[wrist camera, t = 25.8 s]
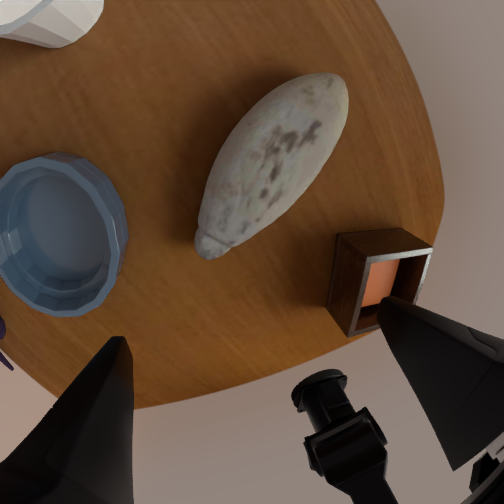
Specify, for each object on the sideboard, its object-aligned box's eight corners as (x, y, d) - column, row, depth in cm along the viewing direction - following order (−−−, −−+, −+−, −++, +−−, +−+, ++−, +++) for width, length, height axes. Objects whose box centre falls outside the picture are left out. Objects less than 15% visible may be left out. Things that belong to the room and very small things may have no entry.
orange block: (376, 290, 25) (387, 301, 23) (344, 296, 24) (354, 308, 23) (388, 245, 23) (401, 254, 21) (354, 248, 22) (367, 258, 20)
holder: (386, 294, 27) (410, 318, 23) (325, 307, 25) (347, 338, 21) (402, 228, 23) (433, 247, 19) (336, 233, 22) (366, 257, 18)
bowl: (141, 286, 20) (135, 313, 17) (32, 294, 18) (16, 317, 15) (119, 138, 15) (103, 140, 12) (-1, 170, 13) (-27, 180, 10)
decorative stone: (166, 229, 18) (162, 249, 16) (289, 51, 15) (309, 38, 12) (237, 266, 21) (246, 290, 18) (351, 104, 17) (378, 103, 14)
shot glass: (66, -21, 7) (33, -57, 1) (130, -12, 10) (111, -62, 4) (18, 50, 9) (-33, 34, 3) (77, 64, 12) (28, 39, 6)
